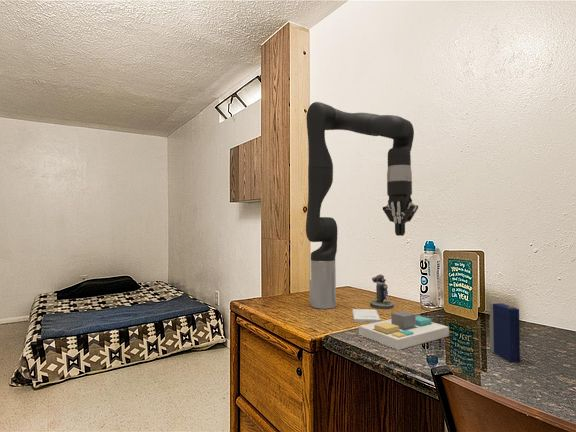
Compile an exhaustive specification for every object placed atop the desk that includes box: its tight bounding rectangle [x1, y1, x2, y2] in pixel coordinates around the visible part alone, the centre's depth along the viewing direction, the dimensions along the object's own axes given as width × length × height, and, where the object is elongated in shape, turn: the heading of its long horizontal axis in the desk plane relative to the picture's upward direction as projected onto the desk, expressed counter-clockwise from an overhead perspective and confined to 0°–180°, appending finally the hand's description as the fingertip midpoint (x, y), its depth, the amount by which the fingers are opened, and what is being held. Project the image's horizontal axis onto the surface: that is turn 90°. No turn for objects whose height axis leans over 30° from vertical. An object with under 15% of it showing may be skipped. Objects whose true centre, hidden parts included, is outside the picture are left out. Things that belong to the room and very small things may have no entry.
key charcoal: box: [390, 310, 417, 328], centre depth 100 cm, size 4×4×3 cm
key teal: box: [416, 315, 432, 327], centre depth 103 cm, size 4×4×3 cm
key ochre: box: [374, 322, 399, 335], centre depth 96 cm, size 4×4×3 cm
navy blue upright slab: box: [488, 301, 521, 363], centre depth 84 cm, size 7×2×12 cm, turn 4°
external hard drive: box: [351, 308, 382, 323], centre depth 119 cm, size 2×8×12 cm
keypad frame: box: [358, 318, 450, 351], centre depth 100 cm, size 14×20×3 cm
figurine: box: [369, 273, 395, 310], centre depth 134 cm, size 8×8×12 cm
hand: (400, 235), depth 114 cm, fingers closed
